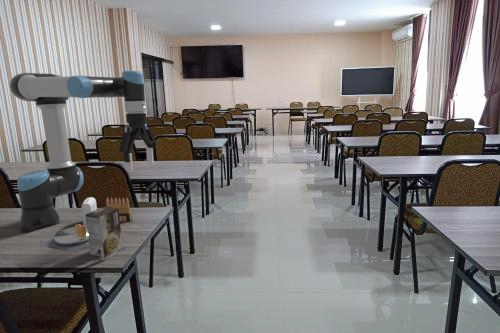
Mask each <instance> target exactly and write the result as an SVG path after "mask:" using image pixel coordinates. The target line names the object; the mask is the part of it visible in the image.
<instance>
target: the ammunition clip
mask: <svg viewBox="0 0 500 333" xmlns="http://www.w3.org/2000/svg"><path fill="white" fill-rule="evenodd" d="M125 199H126V200H125ZM106 206H107V207H113V208H118V210H119V219H120V222H126V223H130V224H133V217H132V212H131V206H130V201H129V198H128V197H126V198H124V197H122V199H121V198H120V197H118V199H117V197H114V200H113V198H112V197H110V200H109V197H106Z"/></svg>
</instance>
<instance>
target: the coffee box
mask: <svg viewBox="0 0 500 333" xmlns="http://www.w3.org/2000/svg"><path fill="white" fill-rule="evenodd" d="M86 221H87V229H88V237H89V245H88V246H89V250H90V252H89V253H90V255H92V256H97V257H96V258H95V260H97V261H98V260H99V261H102V262H106V261H108V260H109V259H110V258H112V257H114V256H116V255H117V254H119V253H121V252H122V251H123V250H124V248H123V237H122V228H121V221H120V219H119V210H118V208H113V207H107V205H106V206H103V207H100V208H97V210H95V211H92V212H90V213H88V214H86Z"/></svg>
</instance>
